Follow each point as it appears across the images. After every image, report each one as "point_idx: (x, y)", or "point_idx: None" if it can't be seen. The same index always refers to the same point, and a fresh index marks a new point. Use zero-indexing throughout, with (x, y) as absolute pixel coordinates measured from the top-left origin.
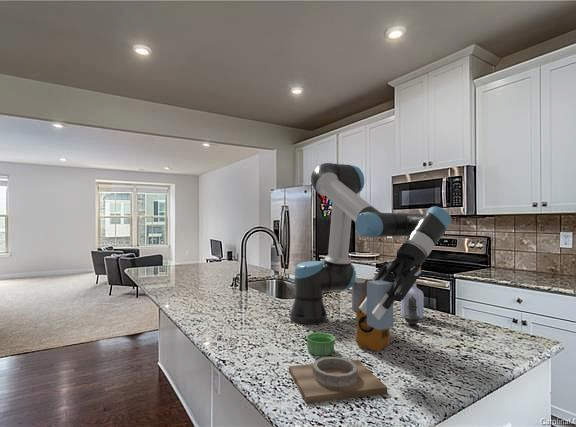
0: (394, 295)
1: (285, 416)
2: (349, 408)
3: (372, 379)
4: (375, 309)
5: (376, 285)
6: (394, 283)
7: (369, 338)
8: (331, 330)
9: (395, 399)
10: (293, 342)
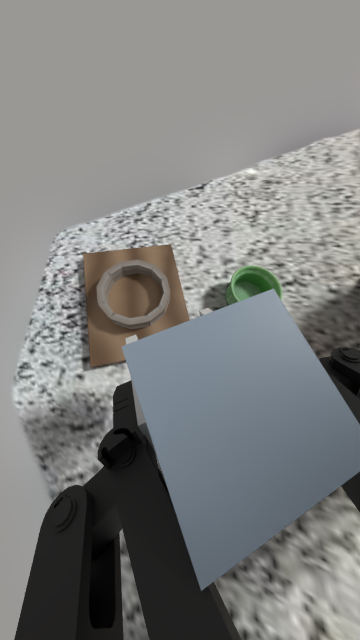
0: (98, 478)
1: (65, 237)
2: (66, 305)
3: (119, 350)
4: None
5: (150, 338)
6: (189, 610)
7: None
8: (347, 332)
9: (76, 374)
10: (273, 264)
